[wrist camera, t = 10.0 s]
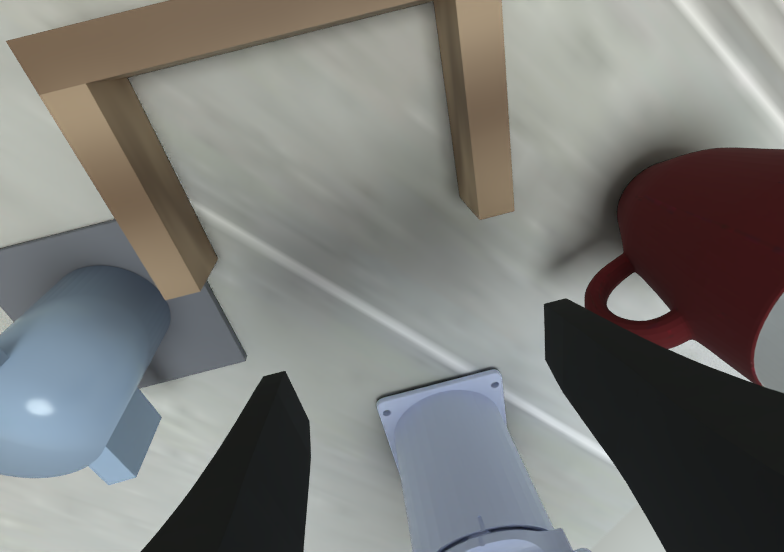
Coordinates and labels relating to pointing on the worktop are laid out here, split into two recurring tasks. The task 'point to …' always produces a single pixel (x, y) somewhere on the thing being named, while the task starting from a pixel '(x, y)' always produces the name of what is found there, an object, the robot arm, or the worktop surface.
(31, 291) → the mat
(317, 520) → the worktop surface
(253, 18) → the holder
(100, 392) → the light blue rounded pot
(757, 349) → the mug
